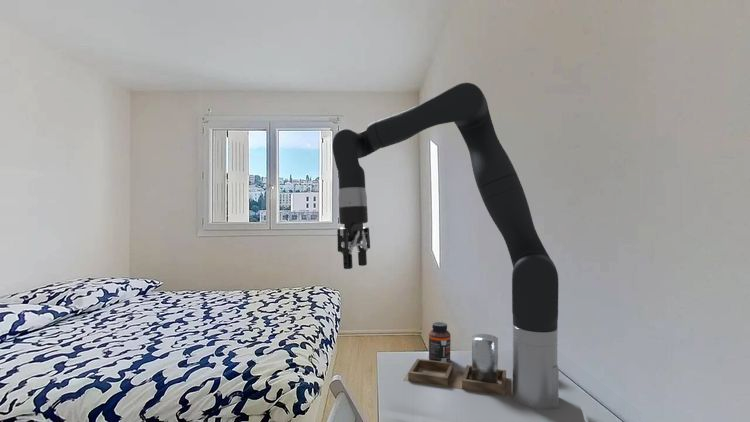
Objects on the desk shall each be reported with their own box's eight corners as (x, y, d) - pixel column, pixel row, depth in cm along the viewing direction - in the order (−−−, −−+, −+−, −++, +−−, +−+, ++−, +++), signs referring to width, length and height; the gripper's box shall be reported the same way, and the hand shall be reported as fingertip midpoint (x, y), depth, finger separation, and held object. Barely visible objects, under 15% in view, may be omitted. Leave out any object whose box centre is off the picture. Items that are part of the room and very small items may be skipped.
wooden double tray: (511, 383, 98) (511, 370, 98) (510, 401, 88) (510, 387, 88) (413, 369, 106) (413, 357, 106) (403, 384, 97) (403, 371, 97)
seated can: (498, 380, 97) (498, 335, 97) (497, 390, 91) (497, 343, 91) (473, 376, 99) (473, 332, 99) (470, 386, 93) (470, 340, 93)
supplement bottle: (450, 369, 106) (450, 327, 106) (428, 367, 108) (428, 326, 108) (450, 361, 112) (450, 321, 112) (429, 359, 113) (429, 320, 113)
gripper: (353, 203, 96) (356, 270, 96) (376, 205, 109) (379, 264, 109) (326, 205, 99) (329, 270, 99) (352, 207, 112) (355, 264, 112)
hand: (355, 267), depth 104 cm, fingers open, 8 cm apart
